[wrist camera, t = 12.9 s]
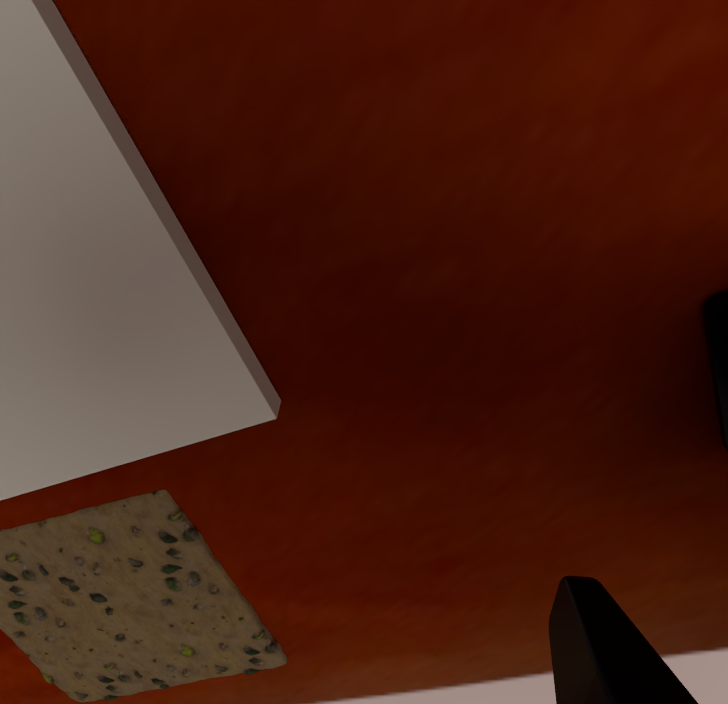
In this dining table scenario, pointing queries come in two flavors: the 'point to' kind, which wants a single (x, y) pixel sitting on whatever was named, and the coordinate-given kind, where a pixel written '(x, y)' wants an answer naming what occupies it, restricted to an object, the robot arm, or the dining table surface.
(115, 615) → the cookie
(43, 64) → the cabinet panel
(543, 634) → the dining table surface
